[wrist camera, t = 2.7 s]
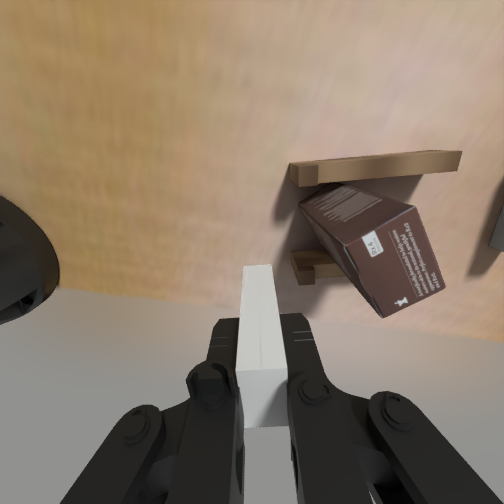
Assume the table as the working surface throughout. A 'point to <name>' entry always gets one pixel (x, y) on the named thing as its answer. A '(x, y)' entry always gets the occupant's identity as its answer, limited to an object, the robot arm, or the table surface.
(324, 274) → the brown piece
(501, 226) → the end stop
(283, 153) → the table surface
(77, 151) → the table surface
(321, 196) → the box
